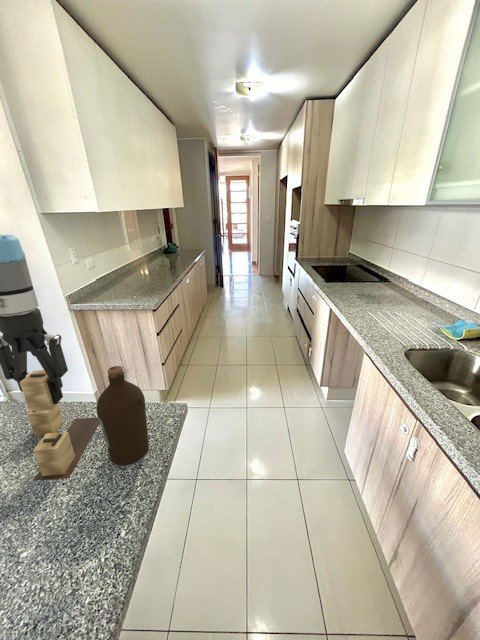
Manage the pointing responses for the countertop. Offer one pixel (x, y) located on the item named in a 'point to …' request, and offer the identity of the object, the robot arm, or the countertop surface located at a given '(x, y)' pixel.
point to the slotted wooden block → (45, 421)
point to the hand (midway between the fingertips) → (46, 400)
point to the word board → (76, 444)
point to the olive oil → (123, 419)
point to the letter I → (37, 391)
